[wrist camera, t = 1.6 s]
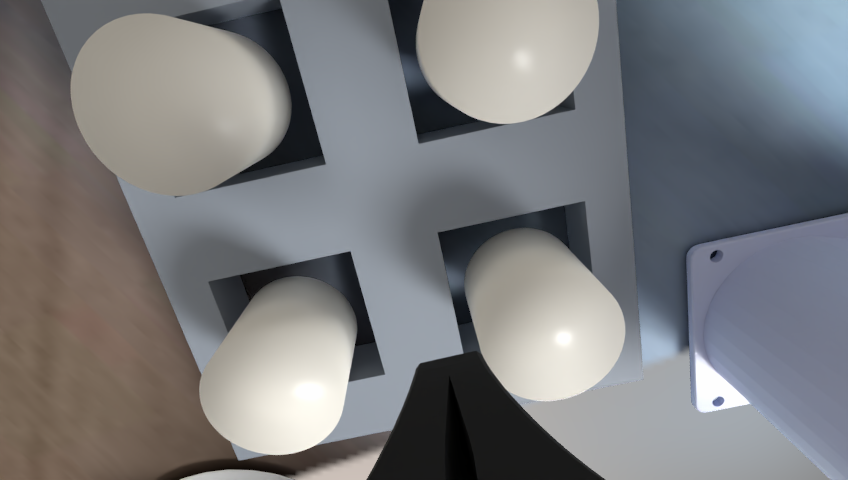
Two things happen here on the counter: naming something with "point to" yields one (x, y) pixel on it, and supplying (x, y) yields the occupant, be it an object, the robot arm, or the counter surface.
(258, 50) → the button
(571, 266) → the button
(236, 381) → the button
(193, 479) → the pudding
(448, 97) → the button
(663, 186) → the counter surface
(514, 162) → the board
